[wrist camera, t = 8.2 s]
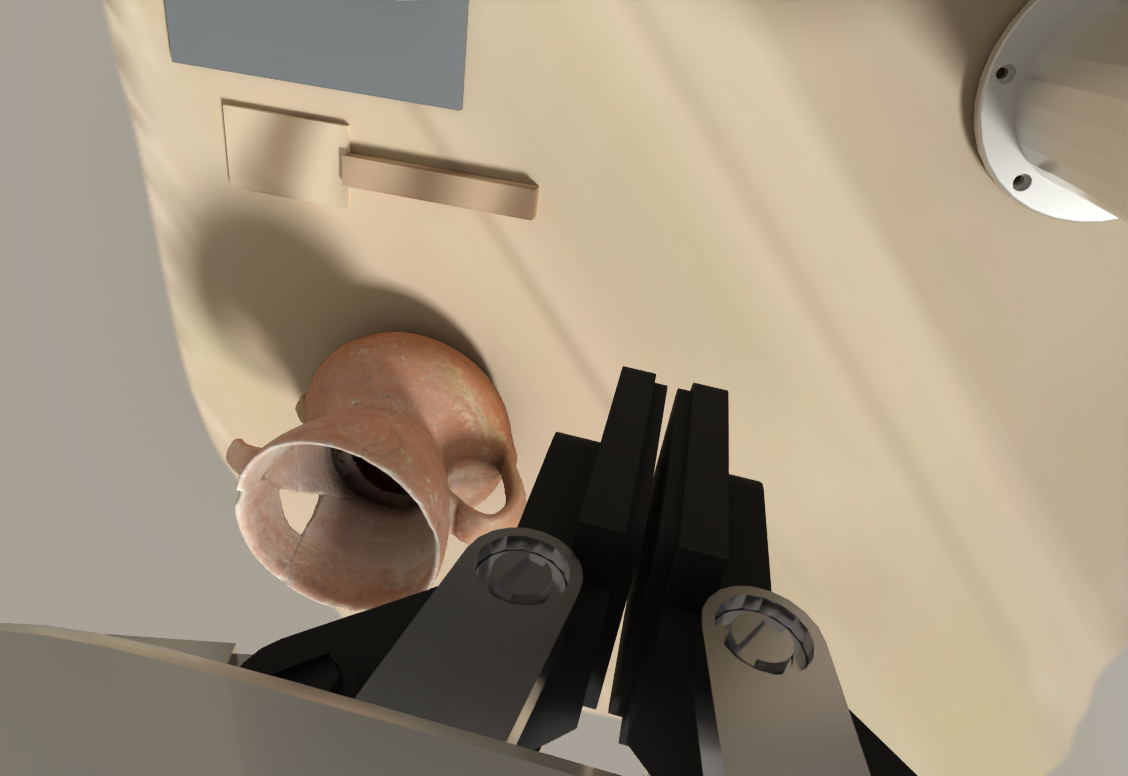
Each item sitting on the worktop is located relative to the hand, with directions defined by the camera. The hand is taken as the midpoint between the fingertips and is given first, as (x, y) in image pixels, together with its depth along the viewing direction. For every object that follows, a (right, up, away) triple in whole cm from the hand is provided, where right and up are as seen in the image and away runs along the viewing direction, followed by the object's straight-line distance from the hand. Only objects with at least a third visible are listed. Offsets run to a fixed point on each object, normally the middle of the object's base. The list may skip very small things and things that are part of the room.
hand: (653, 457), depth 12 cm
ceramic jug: (-11, -1, +41) cm, 42 cm away
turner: (-13, +14, +33) cm, 38 cm away
